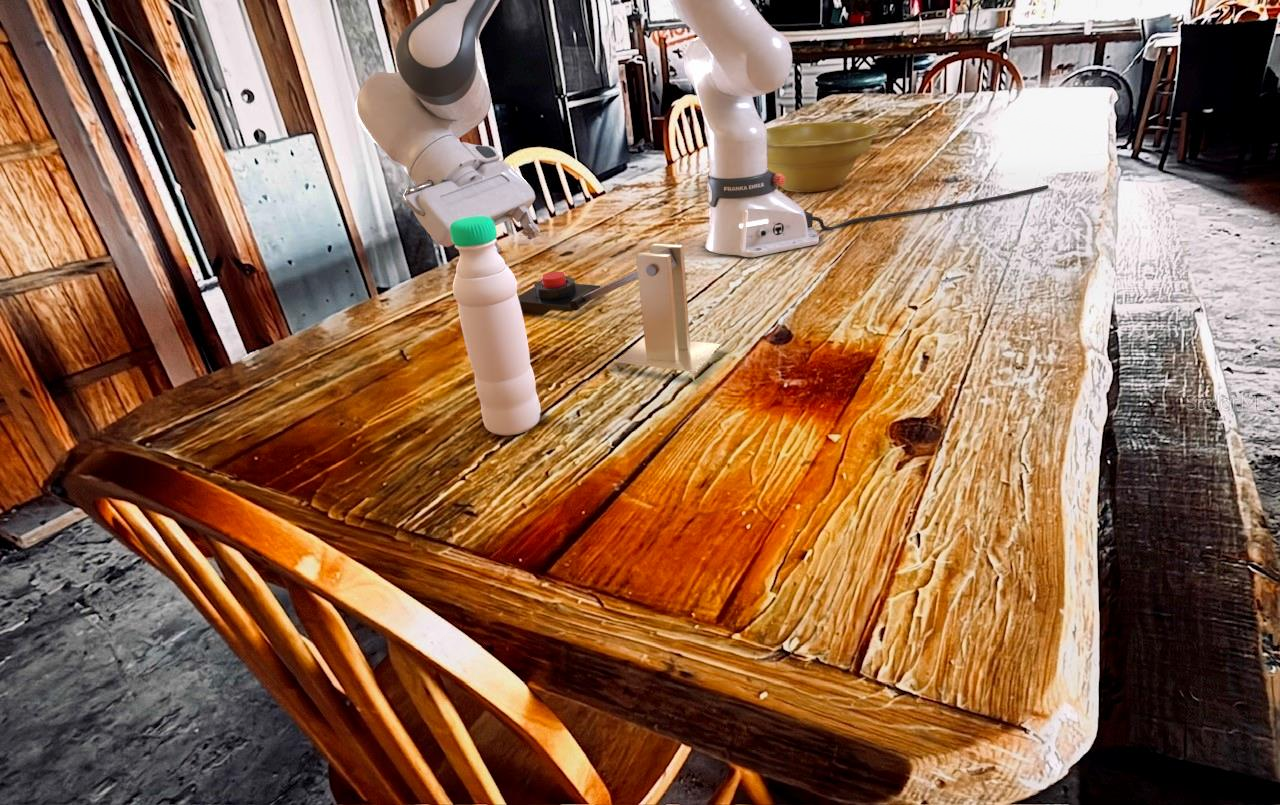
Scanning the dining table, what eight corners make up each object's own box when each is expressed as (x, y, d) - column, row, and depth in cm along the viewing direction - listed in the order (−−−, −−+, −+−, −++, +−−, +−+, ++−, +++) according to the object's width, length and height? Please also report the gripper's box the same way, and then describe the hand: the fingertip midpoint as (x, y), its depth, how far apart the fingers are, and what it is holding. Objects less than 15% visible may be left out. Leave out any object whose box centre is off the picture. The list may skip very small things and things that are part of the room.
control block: (513, 312, 121) (508, 290, 119) (545, 292, 128) (541, 271, 127) (572, 318, 116) (568, 295, 114) (602, 297, 123) (599, 275, 121)
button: (538, 288, 120) (536, 278, 119) (551, 280, 123) (549, 270, 122) (558, 289, 118) (556, 279, 117) (570, 282, 121) (569, 272, 120)
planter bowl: (892, 194, 167) (897, 134, 160) (756, 207, 168) (755, 148, 162) (856, 169, 195) (859, 117, 189) (740, 180, 197) (739, 129, 190)
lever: (574, 315, 98) (566, 299, 97) (592, 302, 102) (584, 287, 101) (665, 274, 88) (656, 257, 88) (681, 261, 92) (673, 245, 92)
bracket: (616, 370, 97) (602, 258, 89) (645, 344, 104) (634, 238, 96) (696, 381, 91) (688, 263, 84) (721, 352, 98) (716, 241, 91)
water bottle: (488, 412, 89) (442, 215, 77) (543, 405, 90) (506, 208, 78) (482, 441, 83) (431, 232, 71) (541, 433, 83) (501, 223, 72)
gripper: (404, 174, 90) (480, 252, 90) (501, 144, 105) (565, 211, 106) (388, 208, 94) (461, 283, 94) (483, 175, 110) (545, 239, 110)
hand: (517, 245), depth 100 cm, fingers open, 8 cm apart
